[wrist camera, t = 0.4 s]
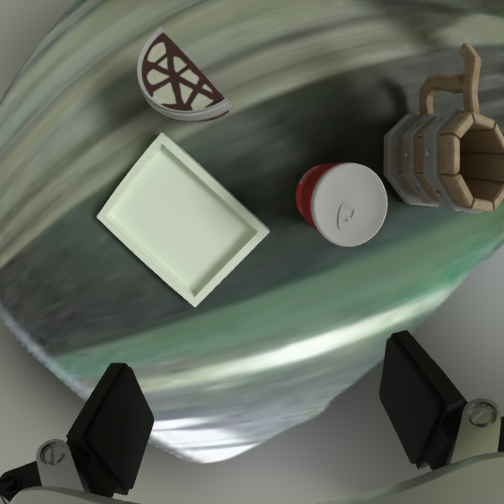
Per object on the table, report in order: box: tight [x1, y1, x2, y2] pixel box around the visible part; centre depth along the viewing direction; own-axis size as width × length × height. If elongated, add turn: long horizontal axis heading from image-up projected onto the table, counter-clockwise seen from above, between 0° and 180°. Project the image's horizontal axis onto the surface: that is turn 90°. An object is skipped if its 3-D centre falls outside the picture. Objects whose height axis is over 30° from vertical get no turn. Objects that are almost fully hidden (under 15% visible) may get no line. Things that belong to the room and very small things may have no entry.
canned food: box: [295, 163, 387, 246], centre depth 31 cm, size 8×8×11 cm
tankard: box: [383, 43, 504, 214], centre depth 27 cm, size 20×13×15 cm, turn 0°
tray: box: [97, 132, 270, 307], centre depth 36 cm, size 14×18×2 cm
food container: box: [137, 27, 232, 121], centre depth 28 cm, size 12×6×10 cm, turn 37°
